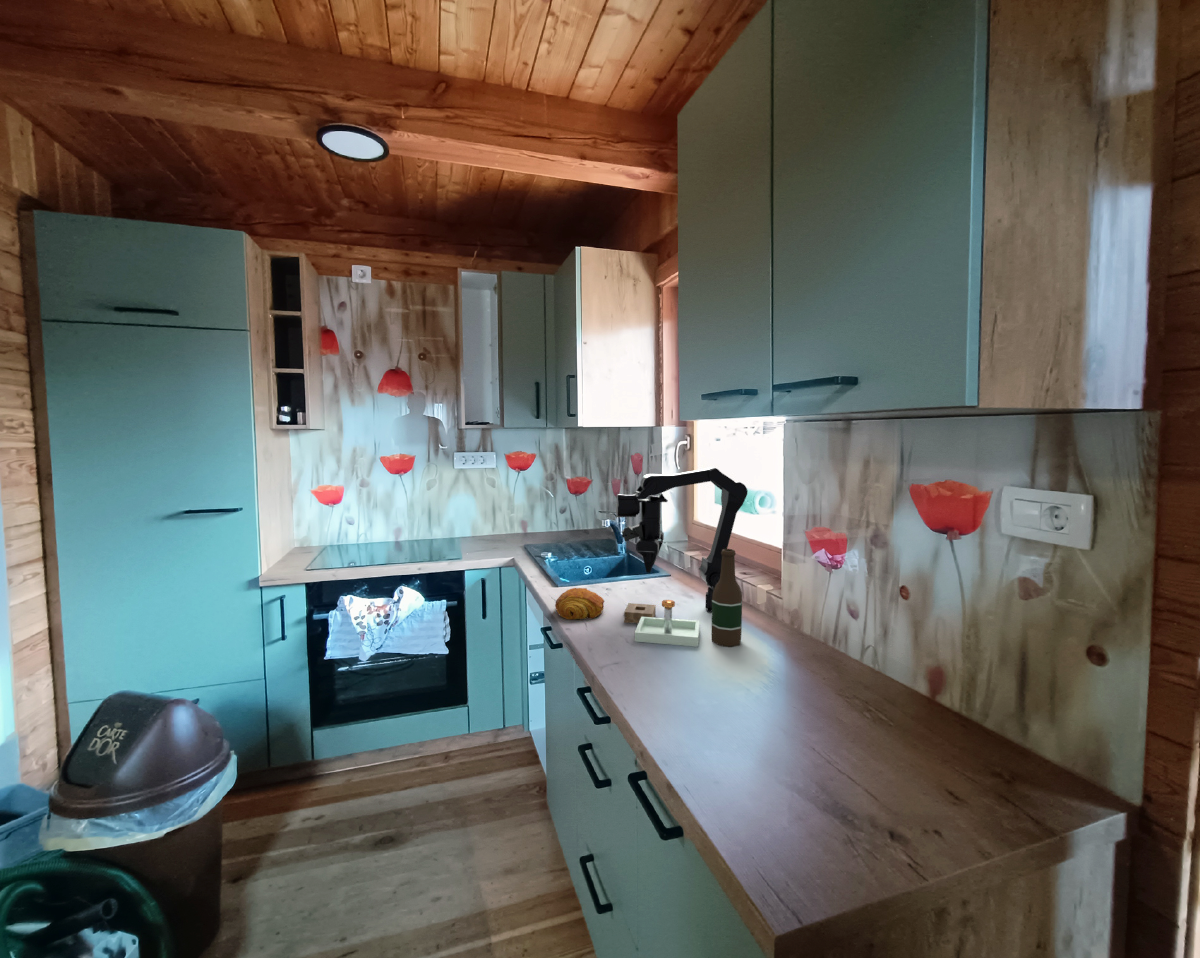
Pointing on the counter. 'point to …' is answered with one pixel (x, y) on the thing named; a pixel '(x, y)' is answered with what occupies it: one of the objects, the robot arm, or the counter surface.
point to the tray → (654, 633)
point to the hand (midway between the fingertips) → (650, 568)
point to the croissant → (579, 604)
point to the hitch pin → (668, 615)
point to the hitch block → (638, 612)
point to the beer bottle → (727, 604)
